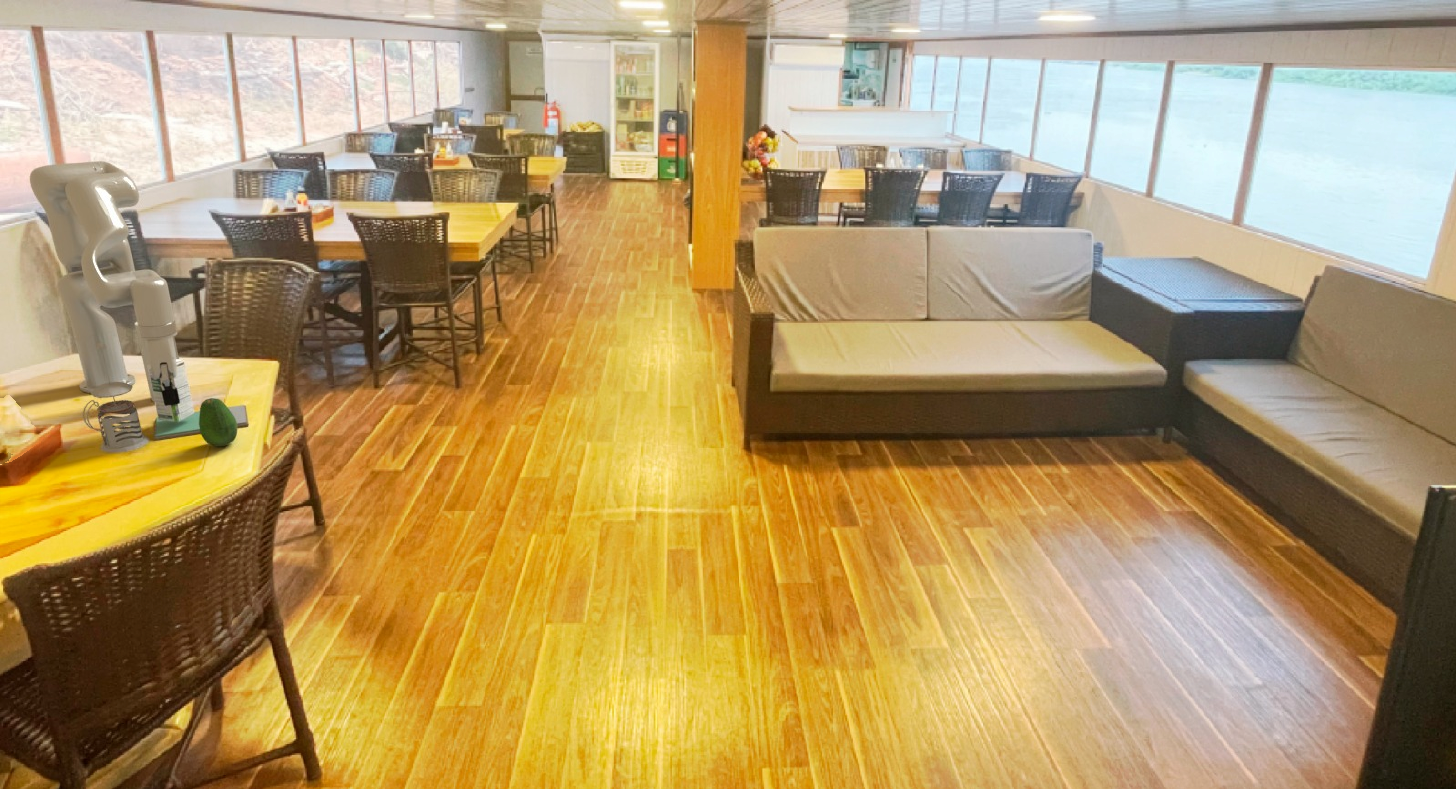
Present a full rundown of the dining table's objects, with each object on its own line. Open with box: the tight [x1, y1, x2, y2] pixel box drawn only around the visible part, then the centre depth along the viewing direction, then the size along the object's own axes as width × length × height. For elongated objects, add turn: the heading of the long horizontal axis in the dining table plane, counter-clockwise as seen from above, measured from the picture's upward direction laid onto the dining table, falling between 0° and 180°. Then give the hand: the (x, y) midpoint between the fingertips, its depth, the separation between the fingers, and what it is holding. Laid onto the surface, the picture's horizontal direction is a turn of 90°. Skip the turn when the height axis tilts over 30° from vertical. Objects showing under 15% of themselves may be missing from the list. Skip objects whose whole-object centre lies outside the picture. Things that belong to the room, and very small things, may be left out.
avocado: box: [199, 397, 238, 447], centre depth 212 cm, size 8×8×12 cm
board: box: [153, 404, 249, 441], centre depth 225 cm, size 13×20×1 cm, turn 119°
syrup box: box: [147, 358, 195, 422], centre depth 219 cm, size 6×6×14 cm
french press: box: [82, 343, 150, 454], centre depth 208 cm, size 10×12×25 cm
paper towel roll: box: [134, 321, 180, 403], centre depth 234 cm, size 7×6×21 cm
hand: (172, 397), depth 220 cm, fingers closed on syrup box, 8 cm apart
